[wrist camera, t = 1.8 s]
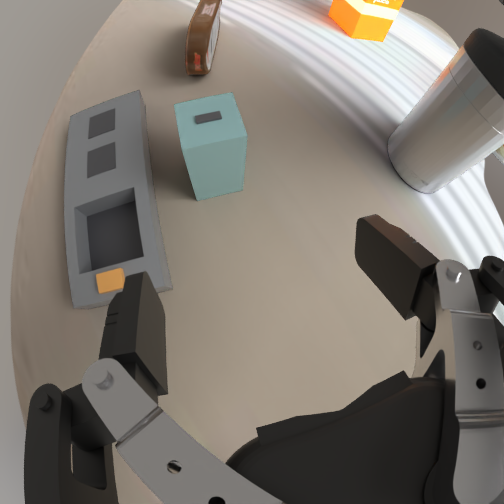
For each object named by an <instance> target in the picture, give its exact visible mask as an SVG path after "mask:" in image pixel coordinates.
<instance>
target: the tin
mask: <svg viewBox="0 0 504 504" xmlns="http://www.w3.org/2000/svg"><path fill="white" fill-rule="evenodd" d="M221 4H222V0H200V2H199V4H198V6H197V8H196V10H195V13H194V15H193V17H192V19H191V21H190V24H189V28H188V32H187V38H186V47H185V66H186V72H187V74H188V75H190V74H208V73H209V72H210V69H211V65H212V61H213V57H214V53H215V49H216V44H217V40H218V34H219V27H220V7H221Z"/></svg>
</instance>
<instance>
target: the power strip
mask: <svg viewBox="0 0 504 504" xmlns="http://www.w3.org/2000/svg"><path fill="white" fill-rule="evenodd" d="M64 224H65V243H66V256H67V266H68V275H69V283H70V290H71V297H72V303H73V308H79V309H92V308H96V307H100V306H105V305H109V304H110V302H111V301H112V299H113V298H114V296H115V295H116V293H118V292H122V291H123V286H124V281H125V277H126V276H128V275H132V274H136V273H140V272H144V271H146V272H147V273H148V275H149V277H150V279H151V281H152V283H153V286H154V288H155V290H156V292H157V293H159V292H163V291H167V290H171V289H173V287H172V282H171V278H170V273H169V269H168V264H167V259H166V254H165V249H164V244H163V239H162V233H161V228H160V222H159V216H158V210H157V204H156V198H155V191H154V184H153V177H152V169H151V161H150V152H149V143H148V133H147V122H146V109H145V104H144V101H143V99H142V96H141V93H140V90H137V91H134V92H131V93H128V94H125V95H122V96H119V97H116V98H114V99H111V100H108V101H105V102H103V103H100V104H98V105H95V106H93V107H90V108H88V109H85V110H83V111H81V112H78V113H76V114H74V115H72V116H70V123H69V131H68V139H67V149H66V162H65V180H64Z"/></svg>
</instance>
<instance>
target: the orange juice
mask: <svg viewBox="0 0 504 504" xmlns="http://www.w3.org/2000/svg"><path fill="white" fill-rule="evenodd" d="M403 1H404V0H333V2H332V5H331V8H330V11H329V16H330V17H331V18H332V19H333V20H334V21H335V22H336V23H337V24H338V25H339V26H340V27H341V28H342V29H343V30H344V31H345V32H346V33H347V34H348V35H349V36H350V37H351V38H355V39H365V40H373V41H381V42H383V40H384V38H385V36H386V34H387V32H388V30H389V28H390V27H391V25H392V23H393V21H394V19H395V17H396V16H397V14H398V12H399V9H400V7H401V5H402V3H403Z"/></svg>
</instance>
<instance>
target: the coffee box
mask: <svg viewBox="0 0 504 504" xmlns="http://www.w3.org/2000/svg"><path fill="white" fill-rule="evenodd" d="M492 153H493V154H494V155H495V156H496V157H497V158H498V160H500V162H501V163H502V164H503V165H504V144H503V145H502V146H501V147H499V148H498V149H497V150H495V151H494V152H492Z"/></svg>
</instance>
